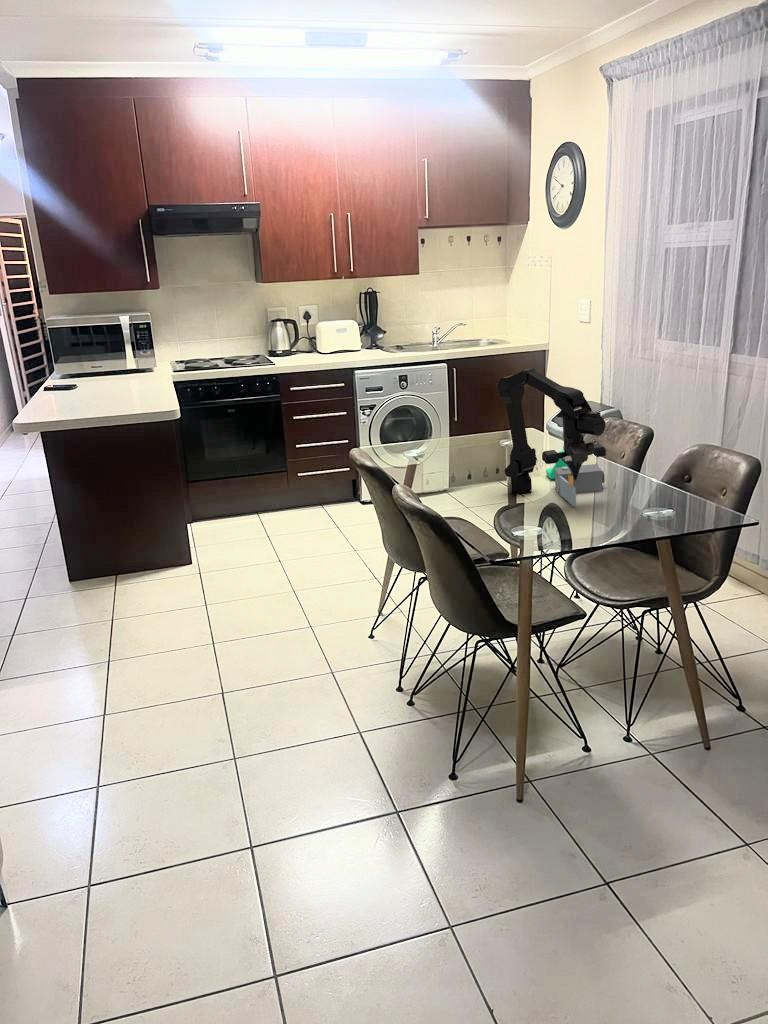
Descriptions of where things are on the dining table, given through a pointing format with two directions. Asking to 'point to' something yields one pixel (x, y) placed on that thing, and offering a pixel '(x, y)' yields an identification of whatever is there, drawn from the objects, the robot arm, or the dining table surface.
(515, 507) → the dining table surface
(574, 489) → the side door
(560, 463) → the camera mount
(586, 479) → the camera body
